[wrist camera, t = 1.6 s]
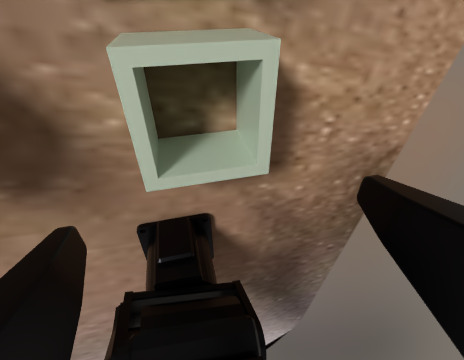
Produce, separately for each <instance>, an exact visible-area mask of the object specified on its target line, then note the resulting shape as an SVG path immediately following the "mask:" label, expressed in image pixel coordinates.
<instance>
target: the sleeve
mask: <svg viewBox="0 0 464 360" xmlns="http://www.w3.org/2000/svg"><path fill="white" fill-rule="evenodd" d="M280 43H281V39H280V38H277V37H274V36H271V35H268V34H265V33H262V32H259V31H257V30H254V29H251V28H236V29H210V30H185V31H160V32H134V33H120V34H119V35H118V36H117V37H116V38H115V39H114V40H113V41H112V42H111V43H110V44H109V45H108V46H107V47H106V49H107V53H108V56H109V60H110V63H111V67H112V70H113V74H114V78H115V81H116V85H117V88H118V92H119V95H120V99H121V103H122V106H123V110H124V113H125V117H126V121H127V124H128V128H129V131H130V135H131V138H132V142H133V146H134V149H135V153H136V156H137V160H138V164H139V167H140V171H141V174H142V178H143V181H144V185H145V189H146V192H149V191H156V190H163V189H169V188H176V187H182V186H189V185H196V184H202V183H209V182H216V181H222V180H229V179H236V178H242V177H249V176H256V175H262V174H269V163H270V152H271V141H272V130H273V119H274V109H275V98H276V87H277V76H278V65H279V54H280ZM229 61H236V85H237V130H230V131H222V132H213V133H204V134H195V135H187V136H178V137H169V138H161V139H158V135H157V131H156V126H155V121H154V116H153V111H152V107H151V102H150V97H149V92H148V88H147V83H146V78H145V73H144V68H143V67H150V66H166V65H182V64H197V63H213V62H229Z"/></svg>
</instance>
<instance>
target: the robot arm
mask: <svg viewBox="0 0 464 360" xmlns="http://www.w3.org/2000/svg"><path fill="white" fill-rule="evenodd" d="M357 201H358V203H359V205H360V207H361V208H362V210H363V212H364V214H365V215H366V217H367V219H368V220H369V222H370V224H371V225H372V227H373V229H374V231H375V233H376V234H377V236H378V238H379V239H380V240H381V242H382V244H383V245H384V247H385V248H386V249H387V251H388V252H389V253H390V255H391V256H392V258H393V259H394V261H395V262H396V264H397V265H398V266H399V268H400V269H401V271H402V272H403V273H404V275H405V276H406V277H407V279H408V280H409V282H410V283H411V285H412V286H413V287H414V289H415V290H416V292H417V293H418V294H419V296H420V297H421V298H422V300H423V301H424V303H425V304H426V306H427V307H428V308H429V310H430V311H431V313H432V314H433V315H434V317H435V318H436V320H437V321H438V323H439V324H440V325H441V327H442V328H443V330H444V331H445V332H446V334H447V335H448V337H449V338H450V339H451V341H452V342H453V344H454V345H455V346H456V348H457V349H458V350H459V352H460V353H461V355H462V356H463V358H464V206H463V205H460V204H457V203H454V202H451V201H449V200H446V199H443V198H441V197H438V196H435V195H432V194H429V193H427V192H424V191H421V190H418V189H416V188H413V187H410V186H407V185H404V184H402V183H399V182H396V181H393V180H391V179H388V178H385V177H382V176H379V175H372V176H366V177H365V178H364V179H363V180H362V183H361V186H360V188H359V191H358V194H357ZM205 218H206V219H205ZM142 229H144V230H142ZM137 234H138V237H139V240H140V243H141V246H142V248H143V251H144V254H145V257H146V260H147V274H146V291H143V292H133V291H130V292H125V295H124V301H123V303H121V304H120V305H119V306H118V307H116V311H115V319H114V325H113V331H112V335H111V339H110V342H109V346H108V349H107V353H106V356H105V359H104V360H266V345H265V339H264V334H263V330H262V327H261V324H260V321H259V319H258V317H257V315H256V313H255V311H254V309H253V307H252V305H251V303H250V301H249V299H248V297H247V294H246V292H245V290H244V288H243V286H242V284H241V282H240V280H237V281H233V282H229V283H219V284H217V281H216V276H215V271H214V266H213V261H212V259H213V258H214V254H213V243H212V232H211V221H210V216H209V215H208V214H198V215H193V216H187V217H181V218H175V219H169V220H164V221H158V222H152V223H146V224H141V225H139V226H138V227H137ZM86 256H87V249H86V245H85V243H84V241H83V239H82V238H81V236H80V234H79V232H78V230H77V229H76V228H75V227H74V226H67V227H61V228H57V229H55V230H54V231H53V232H52V233H51V234H49V235H48V236H47V237H46V238H45V239H44V240H43V241H42V242H40V243H39V244H38V245H37V246H36V247H35V248H34V249H33V250H32V251H30V252H29V253H28V254H27V255H26V256H25V257H24V258H23V259H21V260H20V261H19V262H18V263H17V264H16V265H15V266H14V267H13V268H11V269H10V270H9V271H8V272H7V273H6V274H5V275H4V276H2V277H1V278H0V360H70V358H71V354H72V349H73V345H74V340H75V335H76V331H77V326H78V321H79V317H80V312H81V306H82V298H83V288H84V277H85V267H86Z"/></svg>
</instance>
